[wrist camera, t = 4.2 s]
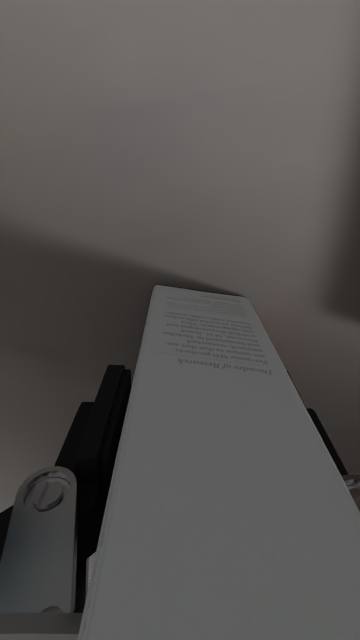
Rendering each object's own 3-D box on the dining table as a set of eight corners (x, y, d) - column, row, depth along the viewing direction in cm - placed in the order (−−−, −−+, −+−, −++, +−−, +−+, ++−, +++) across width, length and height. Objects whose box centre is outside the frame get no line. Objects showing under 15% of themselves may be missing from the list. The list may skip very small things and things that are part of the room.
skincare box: (224, 404, 16) (305, 877, 5) (140, 393, 16) (52, 868, 5) (253, 292, 14) (521, 782, 3) (153, 278, 13) (30, 754, 3)
